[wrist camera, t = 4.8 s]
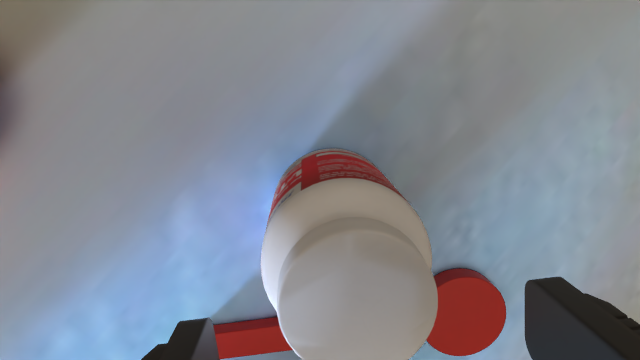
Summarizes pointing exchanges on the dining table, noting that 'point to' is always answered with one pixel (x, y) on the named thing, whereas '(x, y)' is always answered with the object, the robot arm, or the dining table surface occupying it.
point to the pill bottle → (347, 262)
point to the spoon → (446, 336)
